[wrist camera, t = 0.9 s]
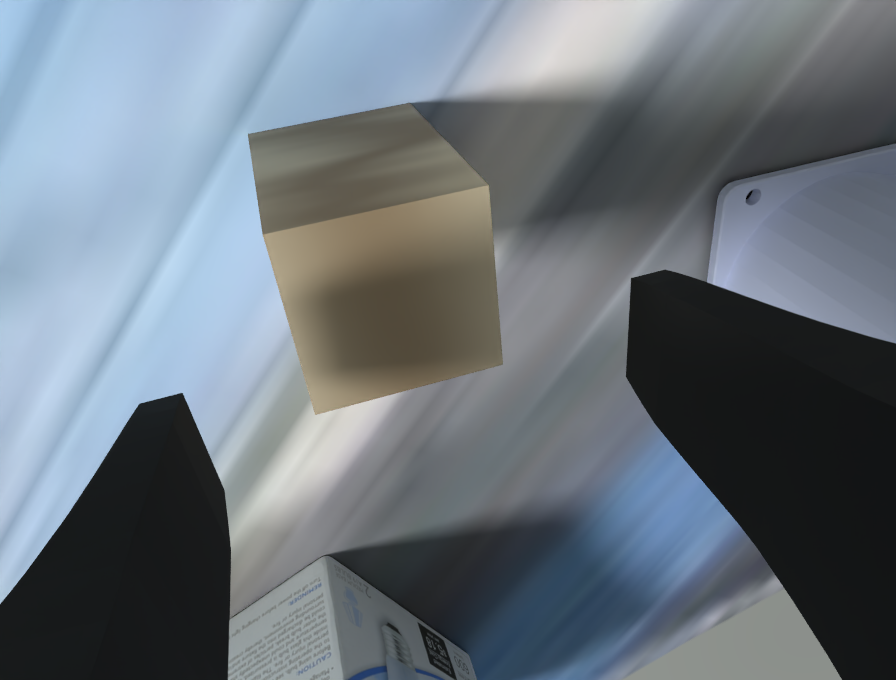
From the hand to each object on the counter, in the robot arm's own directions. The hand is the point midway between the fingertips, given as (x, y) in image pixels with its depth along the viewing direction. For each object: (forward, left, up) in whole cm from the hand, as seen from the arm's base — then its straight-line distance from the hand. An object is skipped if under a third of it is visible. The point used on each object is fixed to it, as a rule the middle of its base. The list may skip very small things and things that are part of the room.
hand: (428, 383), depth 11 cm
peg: (0, 0, -8) cm, 9 cm away
